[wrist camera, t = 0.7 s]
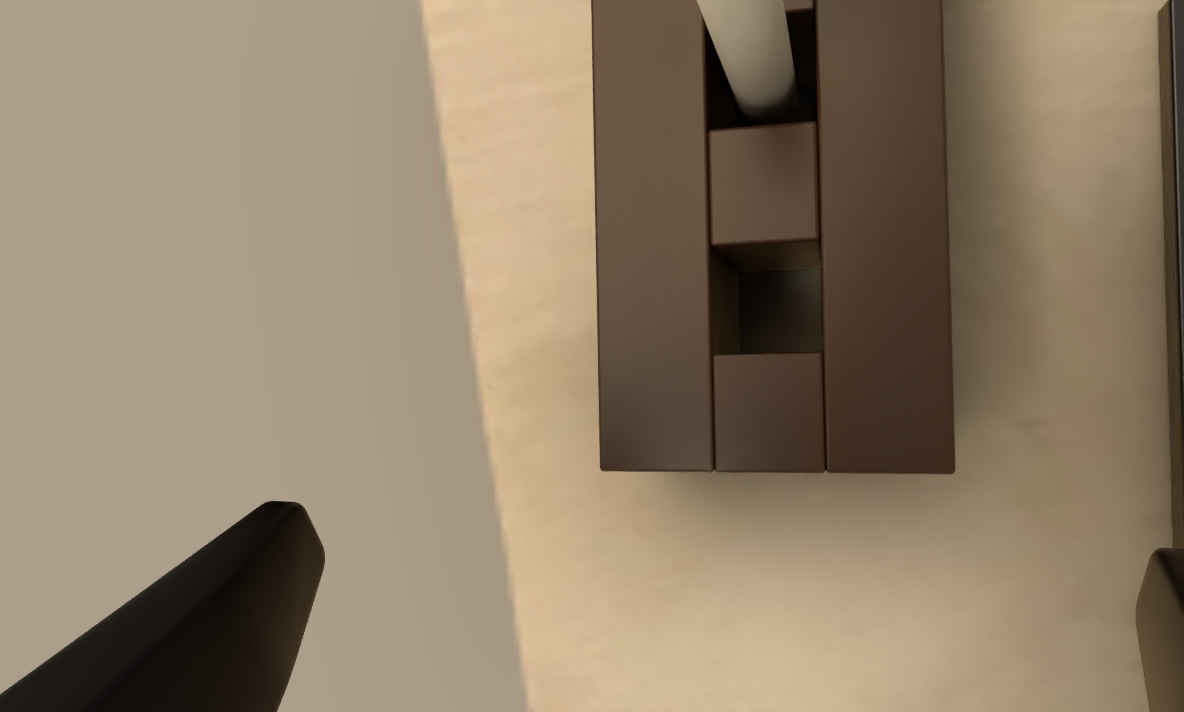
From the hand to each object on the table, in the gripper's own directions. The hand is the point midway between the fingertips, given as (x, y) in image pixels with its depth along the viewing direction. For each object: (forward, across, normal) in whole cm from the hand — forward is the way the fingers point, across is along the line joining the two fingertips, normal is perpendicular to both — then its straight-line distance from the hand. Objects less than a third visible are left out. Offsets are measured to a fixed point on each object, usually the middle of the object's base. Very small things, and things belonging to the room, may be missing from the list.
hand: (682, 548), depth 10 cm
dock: (+14, 0, +2) cm, 14 cm away
